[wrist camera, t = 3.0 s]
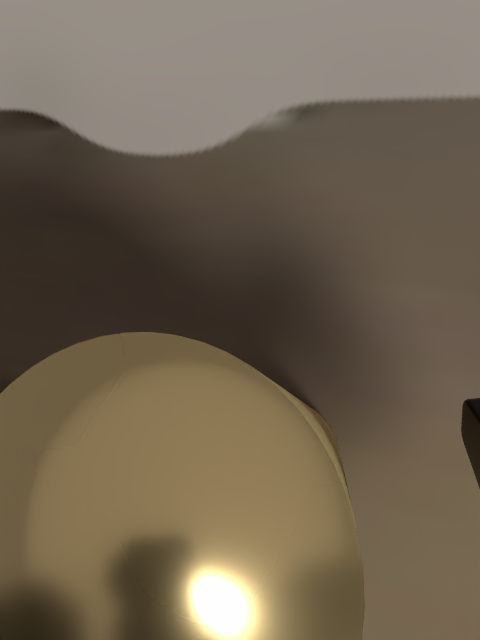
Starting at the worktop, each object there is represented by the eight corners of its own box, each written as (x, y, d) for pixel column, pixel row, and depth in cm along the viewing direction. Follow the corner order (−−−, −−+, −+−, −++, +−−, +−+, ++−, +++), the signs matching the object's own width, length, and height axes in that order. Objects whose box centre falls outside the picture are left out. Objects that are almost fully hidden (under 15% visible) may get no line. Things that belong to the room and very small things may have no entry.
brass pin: (350, 503, 15) (430, 862, 3) (241, 519, 16) (-89, 868, 3) (325, 391, 16) (303, 289, 4) (225, 410, 17) (-74, 375, 4)
